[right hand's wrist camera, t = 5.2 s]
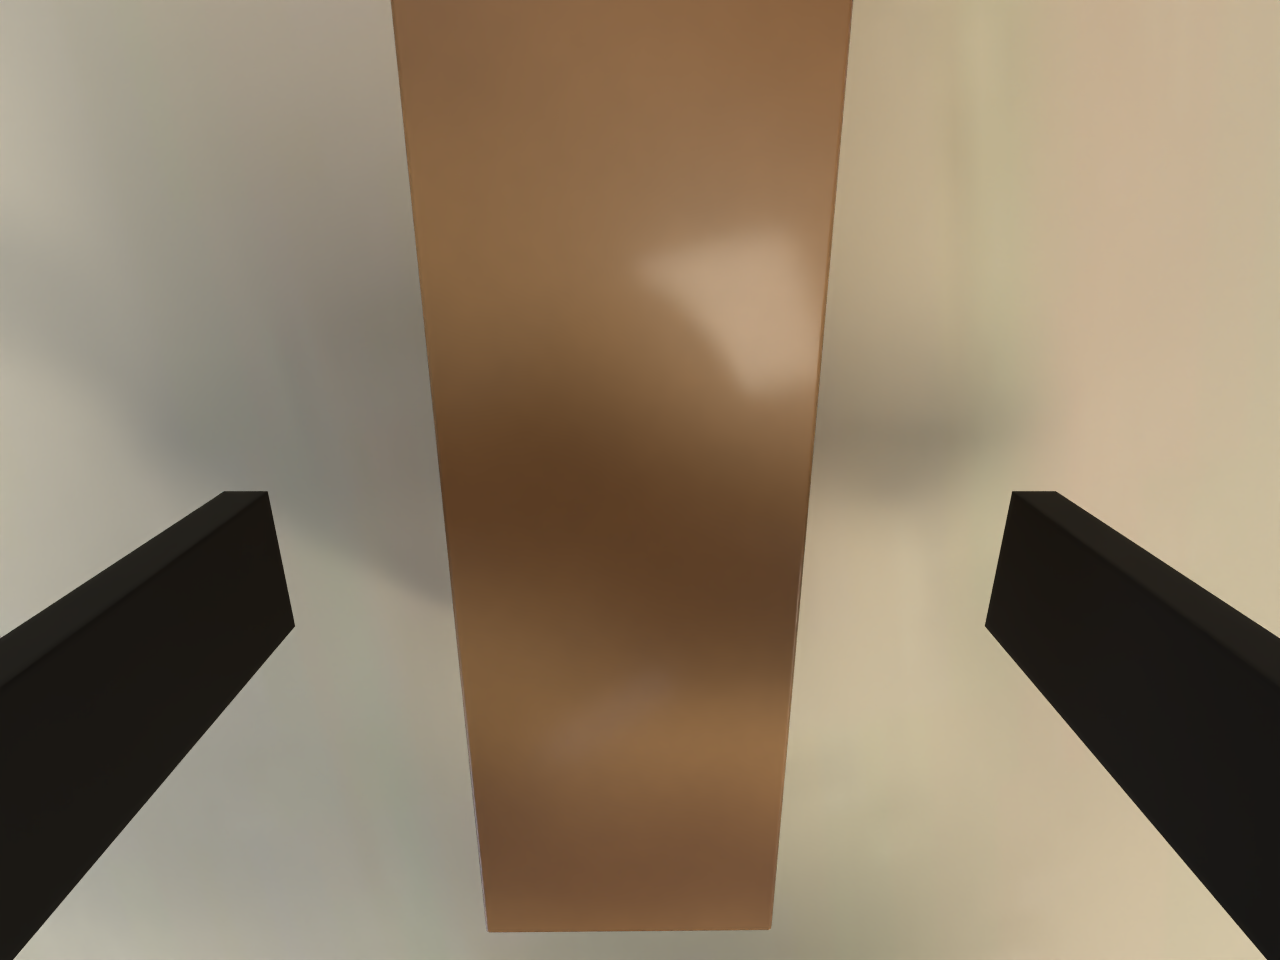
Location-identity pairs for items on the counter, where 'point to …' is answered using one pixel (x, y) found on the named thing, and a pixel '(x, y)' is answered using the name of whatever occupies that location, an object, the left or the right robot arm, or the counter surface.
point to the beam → (625, 428)
